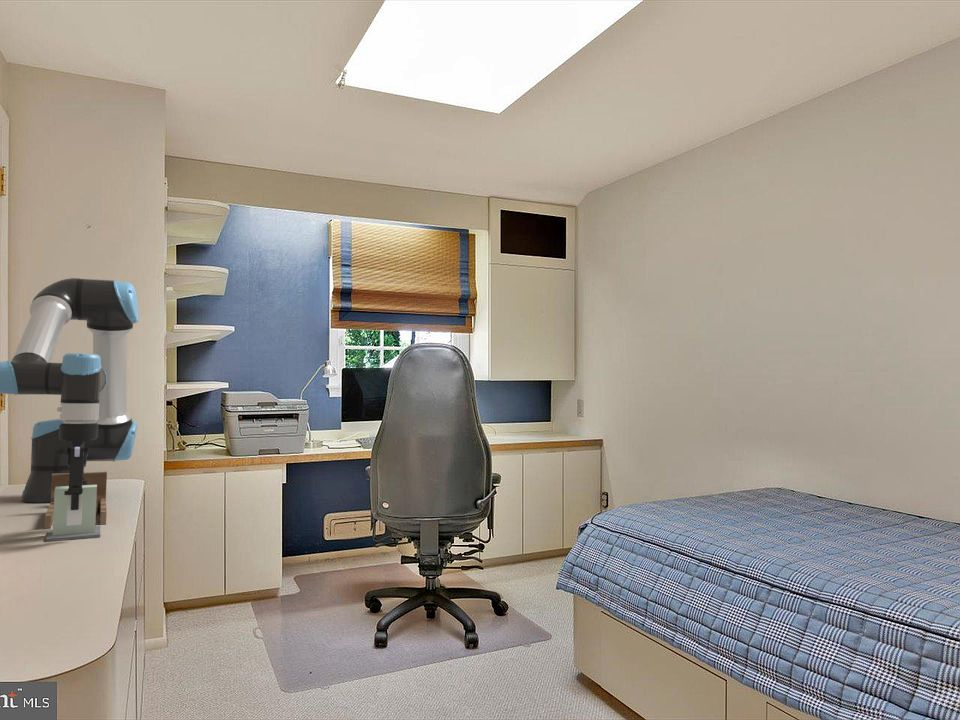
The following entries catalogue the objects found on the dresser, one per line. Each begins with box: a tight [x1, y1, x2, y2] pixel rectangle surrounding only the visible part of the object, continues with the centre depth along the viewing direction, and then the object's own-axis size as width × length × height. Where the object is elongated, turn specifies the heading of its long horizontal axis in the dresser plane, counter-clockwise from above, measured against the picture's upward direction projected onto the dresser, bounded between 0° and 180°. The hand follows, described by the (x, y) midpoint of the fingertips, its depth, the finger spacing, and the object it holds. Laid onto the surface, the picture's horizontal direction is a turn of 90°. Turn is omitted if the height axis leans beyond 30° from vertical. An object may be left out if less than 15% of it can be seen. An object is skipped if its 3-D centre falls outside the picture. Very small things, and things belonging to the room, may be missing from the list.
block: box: [52, 485, 97, 535], centre depth 149 cm, size 4×8×10 cm, turn 120°
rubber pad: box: [45, 525, 101, 542], centre depth 148 cm, size 10×10×1 cm
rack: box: [44, 471, 108, 530], centre depth 167 cm, size 22×12×10 cm, turn 30°
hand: (74, 519), depth 149 cm, fingers open, 12 cm apart
